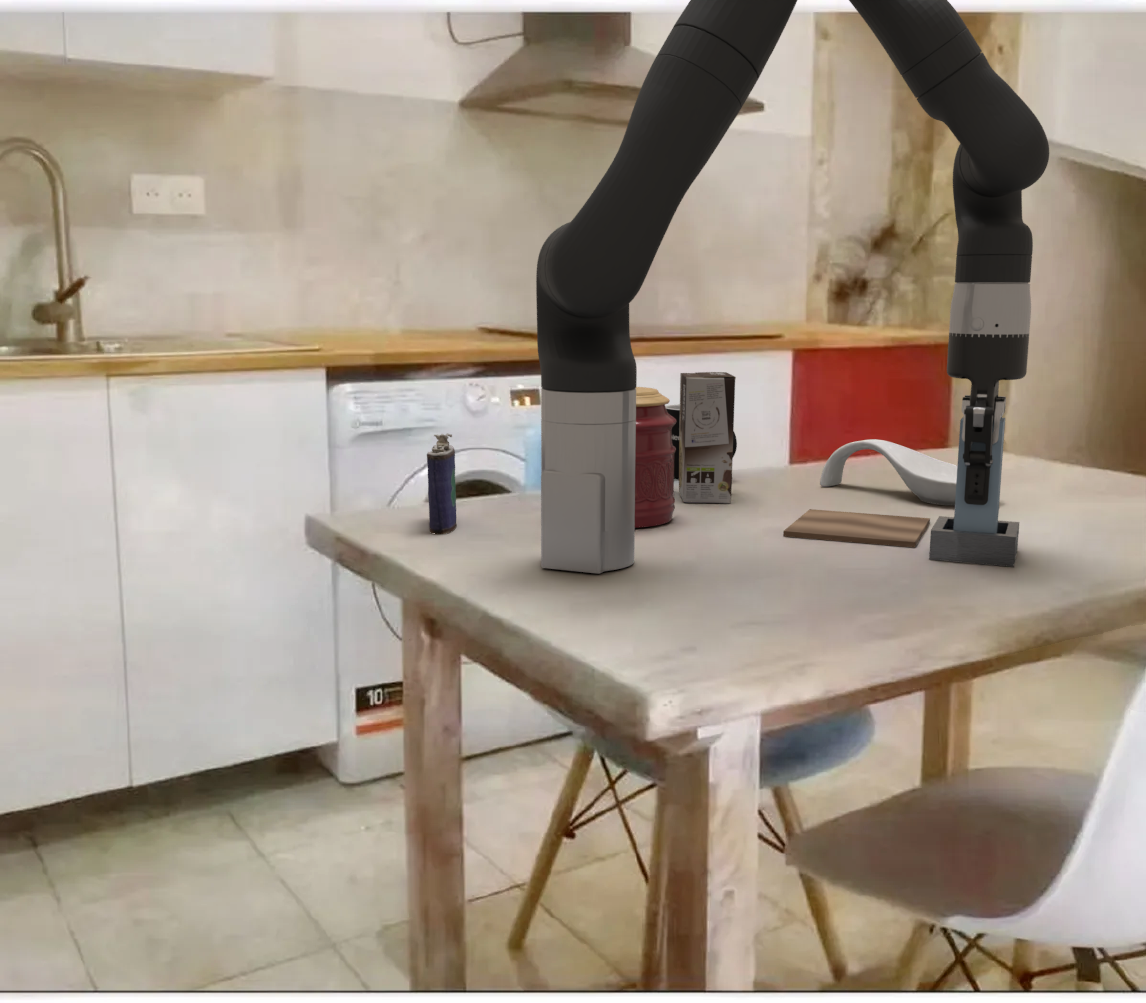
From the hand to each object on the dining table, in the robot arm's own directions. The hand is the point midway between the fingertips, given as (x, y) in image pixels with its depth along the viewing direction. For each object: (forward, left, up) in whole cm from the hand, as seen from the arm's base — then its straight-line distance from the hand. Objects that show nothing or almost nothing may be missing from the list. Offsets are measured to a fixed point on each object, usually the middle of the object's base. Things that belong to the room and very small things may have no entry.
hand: (977, 499), depth 118 cm
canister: (+3, +40, -6) cm, 41 cm away
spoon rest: (+33, +11, -6) cm, 35 cm away
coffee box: (+21, +35, -6) cm, 41 cm away
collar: (0, 0, -6) cm, 6 cm away
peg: (0, 0, -6) cm, 6 cm away
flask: (-9, +57, -6) cm, 58 cm away
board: (+8, +13, -6) cm, 16 cm away
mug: (+36, +40, -6) cm, 54 cm away
